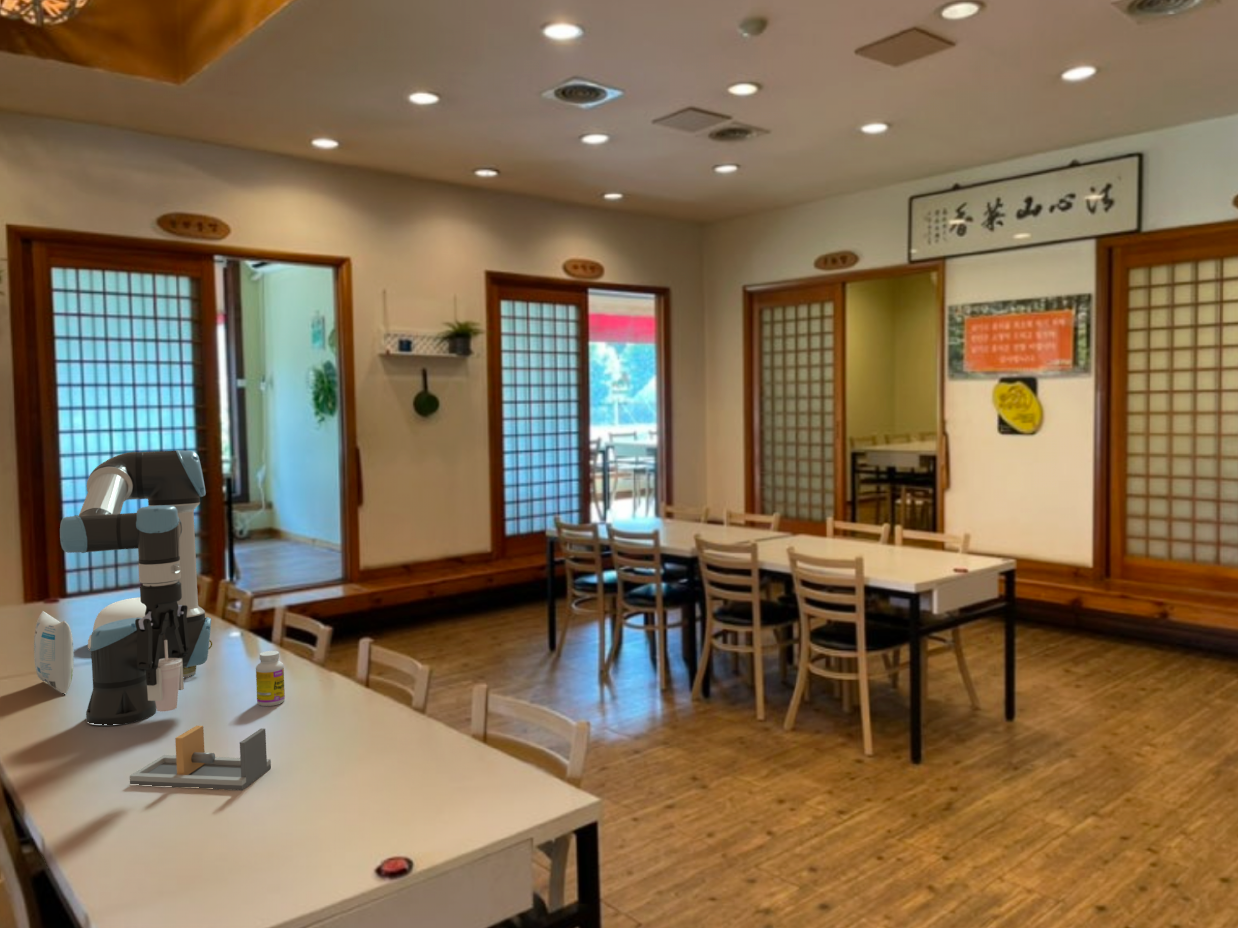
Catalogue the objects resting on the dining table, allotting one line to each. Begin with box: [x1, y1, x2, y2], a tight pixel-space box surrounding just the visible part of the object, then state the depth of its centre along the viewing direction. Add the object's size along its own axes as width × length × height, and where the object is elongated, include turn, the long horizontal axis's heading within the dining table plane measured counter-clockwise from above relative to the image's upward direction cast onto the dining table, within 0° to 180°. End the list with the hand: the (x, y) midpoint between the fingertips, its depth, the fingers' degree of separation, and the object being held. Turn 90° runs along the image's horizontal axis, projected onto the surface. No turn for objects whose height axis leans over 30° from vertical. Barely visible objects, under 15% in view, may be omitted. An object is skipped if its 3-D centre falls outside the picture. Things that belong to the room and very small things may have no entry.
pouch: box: [33, 610, 75, 694], centre depth 250 cm, size 8×19×20 cm, turn 43°
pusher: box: [174, 725, 216, 775], centre depth 187 cm, size 6×7×8 cm
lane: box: [129, 728, 272, 791], centre depth 187 cm, size 24×11×9 cm, turn 82°
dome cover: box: [87, 596, 146, 650], centre depth 300 cm, size 32×30×14 cm
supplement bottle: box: [255, 650, 286, 707], centre depth 234 cm, size 7×7×13 cm
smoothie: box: [152, 640, 182, 712], centre depth 187 cm, size 6×6×14 cm
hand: (166, 694), depth 188 cm, fingers closed on smoothie, 6 cm apart
